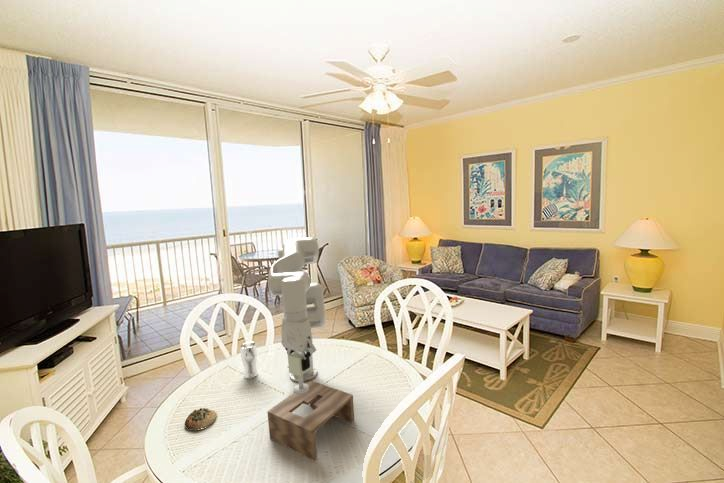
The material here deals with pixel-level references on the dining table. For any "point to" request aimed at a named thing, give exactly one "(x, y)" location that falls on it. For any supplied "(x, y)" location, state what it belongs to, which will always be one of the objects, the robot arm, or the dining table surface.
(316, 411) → the keyhole shelf
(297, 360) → the peg
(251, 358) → the marbled vase
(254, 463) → the dining table surface
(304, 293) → the robot arm
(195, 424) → the bread roll
